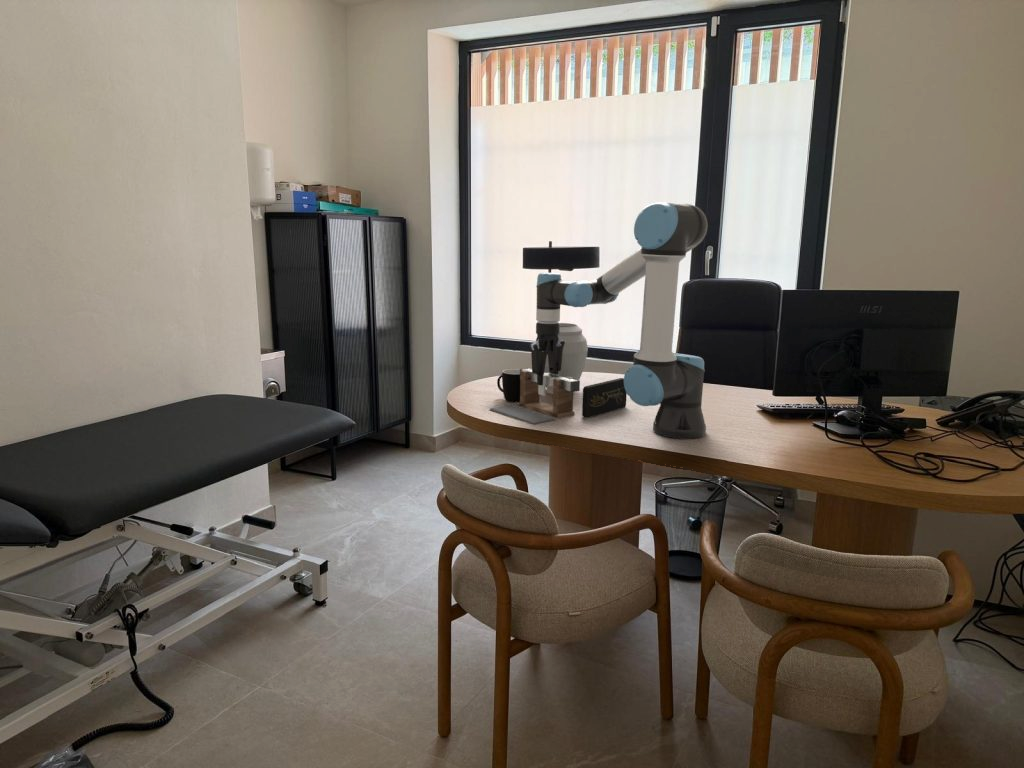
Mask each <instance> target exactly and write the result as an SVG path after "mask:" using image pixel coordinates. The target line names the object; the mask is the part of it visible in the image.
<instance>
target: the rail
mask: <svg viewBox="0 0 1024 768" xmlns="http://www.w3.org/2000/svg"><path fill="white" fill-rule="evenodd" d="M519 369H520V376H521V371H527V372H528V377H527V380H530V381H534V382H537V374H534V373H532V368H529V367H523V368H519ZM544 375H546V385H549V386H552V387H553V379H559V380H561V389H564V390H567V391H570V392H573V393H575V392H580V391H581V389H580V387H581V386H580V385H581V380H580V379H579V380H573V379H569V378H565V377H561V376H557V375H553V374H549V373H545V372H544Z"/></svg>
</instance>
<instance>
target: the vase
mask: <svg viewBox="0 0 1024 768" xmlns="http://www.w3.org/2000/svg"><path fill="white" fill-rule="evenodd" d="M558 323H559V324H560V331H559V334H558V338H559V340H561V341H564V342H565V344H564V347H563V353H562V364H561V371H558V374H556V375H557V376H561V377H565V378H566V377H572V378H574V380H579V381H580V380H581V377H582V374H583V372H584V369H585V367H586V361H587V358H588V357H587V356H588V352H589V349H588V340H587V337H585V336H584V334H583V329H582V328H581V327H580V326H578V325H577V324H575V323H568V322H558ZM536 339H537V337H536V338H535V340H536ZM538 347H539V346H538ZM543 352H544V351H543ZM557 367H558V366H557ZM544 372H545V373H550V372H549V363H548V354H547V357H546V364H545V371H544ZM546 389H547V385H546Z"/></svg>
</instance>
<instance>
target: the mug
mask: <svg viewBox="0 0 1024 768" xmlns="http://www.w3.org/2000/svg"><path fill="white" fill-rule="evenodd" d="M520 369H521V368H519V369H518V368H516V369H515V368H514V369H511V368H510V369H504V370H502V371H501V374H500V375H499V376H498V378H497V380H496V381H497V382H496V384H497V387H498V390H499V391H500V392H502V394H503V398H504V400H505V401H506V402H508V403H519V402H520ZM501 380H502V381H501ZM501 383H502V387H501Z"/></svg>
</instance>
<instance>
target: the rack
mask: <svg viewBox="0 0 1024 768" xmlns="http://www.w3.org/2000/svg"><path fill="white" fill-rule="evenodd" d="M527 377H528V372H527V371H521V376H520V402H518V406H519V407H522V408H525V409H528V410H531V411H535V412H538V413H541V414H544V415H547V416H550V417H554V418H556V419H562V418H563V419H564V418H568V417H572V416H575V411H574V392H570V391H567V390H564V389H561V380H559V379H553V394H552V404H550V403H547V402H544V401H541V400H540V399H541V395H540V394H538V384H537V382H534V381H530V380H527ZM566 378H569V379H573V380H574V378H572V377H566Z"/></svg>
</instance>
